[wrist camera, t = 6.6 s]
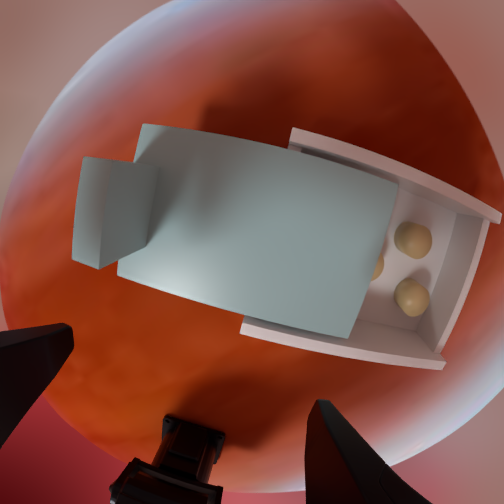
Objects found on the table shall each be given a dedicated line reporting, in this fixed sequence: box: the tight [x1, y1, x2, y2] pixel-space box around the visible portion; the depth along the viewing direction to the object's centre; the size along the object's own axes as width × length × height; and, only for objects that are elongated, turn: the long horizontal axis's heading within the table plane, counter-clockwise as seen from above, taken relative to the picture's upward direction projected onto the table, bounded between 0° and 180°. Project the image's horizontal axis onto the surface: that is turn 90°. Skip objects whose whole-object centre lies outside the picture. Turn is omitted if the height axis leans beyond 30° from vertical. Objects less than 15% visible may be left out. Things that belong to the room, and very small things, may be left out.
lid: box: [72, 124, 399, 339], centre depth 12 cm, size 9×14×5 cm, turn 76°
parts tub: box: [240, 127, 502, 370], centre depth 16 cm, size 11×14×5 cm
